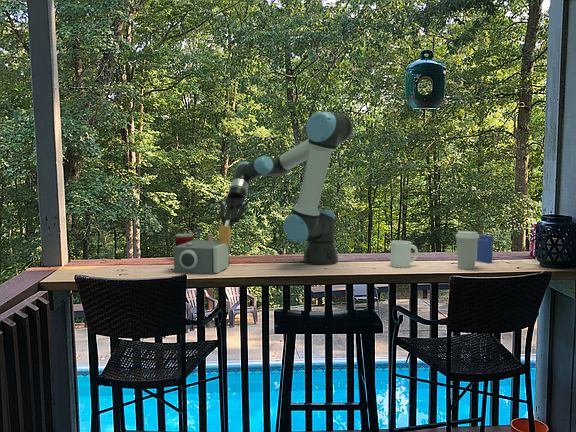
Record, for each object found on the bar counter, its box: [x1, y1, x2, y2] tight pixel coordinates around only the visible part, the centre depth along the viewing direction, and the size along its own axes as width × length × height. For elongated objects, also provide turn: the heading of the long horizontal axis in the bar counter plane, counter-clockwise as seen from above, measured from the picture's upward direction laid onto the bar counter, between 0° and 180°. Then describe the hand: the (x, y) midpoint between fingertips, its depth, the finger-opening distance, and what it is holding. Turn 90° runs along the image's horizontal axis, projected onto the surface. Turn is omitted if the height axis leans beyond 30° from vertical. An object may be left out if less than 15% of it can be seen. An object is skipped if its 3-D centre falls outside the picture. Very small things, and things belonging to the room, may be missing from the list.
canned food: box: [174, 233, 194, 247], centre depth 250 cm, size 8×8×11 cm
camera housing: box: [173, 239, 230, 275], centre depth 228 cm, size 16×22×11 cm
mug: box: [389, 239, 419, 268], centre depth 236 cm, size 12×8×10 cm
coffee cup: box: [455, 230, 480, 270], centre depth 232 cm, size 10×10×15 cm
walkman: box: [475, 233, 494, 264], centre depth 247 cm, size 8×3×12 cm, turn 39°
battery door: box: [213, 225, 231, 274], centre depth 224 cm, size 4×13×17 cm, turn 166°
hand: (224, 234), depth 231 cm, fingers closed
